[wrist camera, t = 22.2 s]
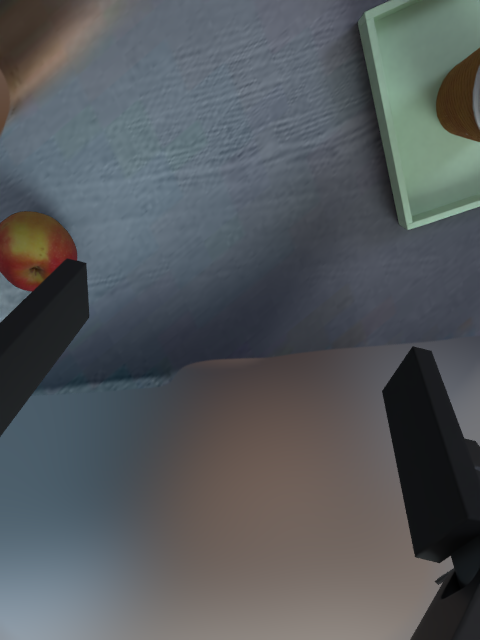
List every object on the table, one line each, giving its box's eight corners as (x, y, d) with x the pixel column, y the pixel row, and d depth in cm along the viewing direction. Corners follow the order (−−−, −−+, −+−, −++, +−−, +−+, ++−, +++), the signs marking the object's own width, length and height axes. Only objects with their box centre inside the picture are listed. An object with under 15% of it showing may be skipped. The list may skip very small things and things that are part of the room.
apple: (37, 281, 45) (-7, 307, 38) (10, 210, 42) (-44, 225, 34) (98, 273, 44) (64, 299, 37) (75, 200, 41) (33, 213, 33)
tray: (357, 21, 33) (364, 12, 30) (568, -74, 29) (595, -94, 27) (399, 225, 39) (407, 230, 37) (574, 166, 36) (596, 167, 34)
